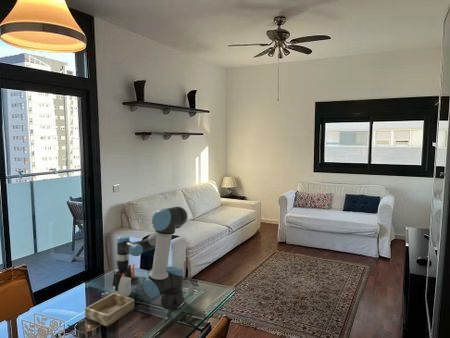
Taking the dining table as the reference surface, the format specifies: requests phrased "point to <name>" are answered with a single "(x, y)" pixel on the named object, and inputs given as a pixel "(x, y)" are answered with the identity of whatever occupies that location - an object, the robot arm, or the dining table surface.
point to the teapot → (131, 272)
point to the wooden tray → (109, 309)
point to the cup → (124, 286)
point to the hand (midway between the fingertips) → (121, 292)
